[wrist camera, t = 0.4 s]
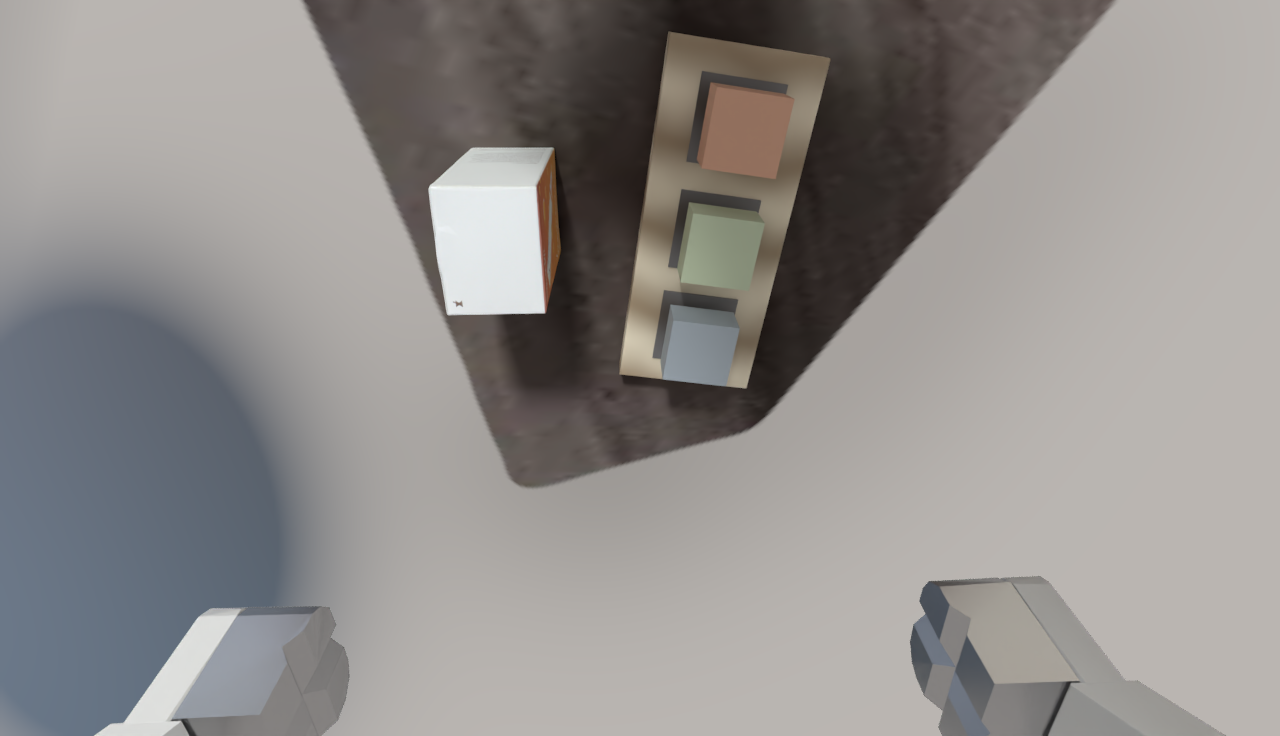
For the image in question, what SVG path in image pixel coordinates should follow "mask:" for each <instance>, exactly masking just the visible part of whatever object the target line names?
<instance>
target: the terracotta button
mask: <svg viewBox="0 0 1280 736" xmlns="http://www.w3.org/2000/svg"><path fill="white" fill-rule="evenodd" d="M794 100H795V99H794V98H792V97H790V96H788V95H785V94H782V93H776V92H770V91H763V90H757V89H750V88H744V87H738V86H731V85H725V84H719V83H712V82H711V83H710V89H709V94H708V100H707V106H706V111H705V117H704V122H703V128H702V133H701V139H700V144H699V150H698V155H697V161H698V163H699V165H700V166H701V168H702V169H708V170H715V171H722V172H729V173H736V174H743V175H750V176H757V177H764V178H771V179H776V175H777V171H778V167H779V162H780V158H781V154H782V150H783V146H784V142H785V137H786V133H787V129H788V125H789V121H790V116H791V112H792V108H793V104H794Z"/></svg>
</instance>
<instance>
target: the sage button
mask: <svg viewBox="0 0 1280 736" xmlns="http://www.w3.org/2000/svg"><path fill="white" fill-rule="evenodd" d="M764 225H765V223H764V221H763V220H762V218H761V217H760V215H759V214H758V213H757V212H756V211H749V210H742V209H734V208H727V207H720V206H713V205H706V204H698V203H691V202H689V205H688V211H687V216H686V222H685V227H684V233H683V238H682V244H681V249H680V255H679V261H678V266H677V269H678V274H679V278H680V282H682V283H690V284H698V285H705V286H713V287H721V288H729V289H737V290H745V291H749V288H750V284H751V280H752V276H753V271H754V267H755V263H756V259H757V255H758V250H759V246H760V242H761V238H762V234H763V229H764Z"/></svg>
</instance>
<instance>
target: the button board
mask: <svg viewBox="0 0 1280 736" xmlns="http://www.w3.org/2000/svg"><path fill="white" fill-rule="evenodd" d="M830 60H831V58H826V57H821V56H815V55H809V54H803V53H797V52H791V51H785V50H779V49H772V48H766V47H760V46H754V45H748V44H742V43H736V42H730V41H724V40H717V39H711V38H705V37H699V36H693V35H687V34H681V33H675V32H669V31H668V38H667V45H666V51H665V58H664V65H663V72H662V79H661V85H660V92H659V99H658V106H657V112H656V119H655V126H654V133H653V139H652V146H651V153H650V160H649V167H648V173H647V180H646V187H645V194H644V200H643V207H642V214H641V221H640V227H639V234H638V241H637V248H636V255H635V261H634V268H633V275H632V282H631V288H630V295H629V302H628V309H627V315H626V322H625V329H624V336H623V343H622V349H621V356H620V363H619V370H620V374H622V375H631V376H639V377H648V378H657V379H662V371H661V363H660V360H661V355H662V349H663V344H664V338H665V333H666V327H667V321H668V316H669V310H670V305H679V306H687V307H695V308H703V309H711V310H719V311H727V312H734V315H735V317H736V320H737V322H738V325H739V328H740V330H739V334H738V338H737V343H736V347H735V351H734V355H733V359H732V363H731V368H730V372H729V376H728V380H727V384H726V386H728V387H737V388H747V384H748V380H749V376H750V372H751V368H752V364H753V360H754V357H755V353H756V349H757V345H758V341H759V337H760V333H761V329H762V325H763V321H764V318H765V314H766V310H767V306H768V302H769V298H770V294H771V290H772V286H773V282H774V278H775V275H776V271H777V267H778V263H779V259H780V255H781V251H782V247H783V243H784V239H785V235H786V232H787V228H788V224H789V220H790V216H791V212H792V208H793V204H794V200H795V196H796V193H797V189H798V185H799V181H800V177H801V173H802V169H803V165H804V161H805V157H806V153H807V150H808V146H809V142H810V138H811V134H812V130H813V126H814V122H815V118H816V114H817V110H818V107H819V103H820V99H821V95H822V91H823V87H824V83H825V79H826V75H827V71H828V68H829V64H830ZM711 82H712V83H719V84H725V85H731V86H738V87H744V88H750V89H757V90H763V91H770V92H776V93H782V94H785V95H788V96H790V97H792V98H794V99H795V100H794V104H793V108H792V112H791V116H790V121H789V125H788V129H787V133H786V137H785V142H784V146H783V150H782V154H781V158H780V162H779V167H778V171H777V175H776V179H771V178H764V177H757V176H750V175H743V174H736V173H729V172H722V171H715V170H708V169H702V168H701V166H700V165H699V163H698V161H697V155H698V150H699V144H700V139H701V133H702V128H703V122H704V117H705V111H706V106H707V100H708V94H709V89H710V83H711ZM689 202H691V203H698V204H706V205H713V206H720V207H727V208H734V209H742V210H749V211H756V212H757V213H758V214H759V215H760V217H761V218H762V220H763V221H764V223H765V225H764V229H763V234H762V238H761V242H760V246H759V250H758V255H757V259H756V263H755V267H754V271H753V276H752V280H751V284H750V288H749V291H745V290H737V289H729V288H721V287H713V286H705V285H698V284H690V283H682V282H680V278H679V274H678V269H677V266H678V261H679V255H680V249H681V244H682V238H683V233H684V227H685V222H686V216H687V211H688V205H689Z"/></svg>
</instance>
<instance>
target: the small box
mask: <svg viewBox="0 0 1280 736" xmlns="http://www.w3.org/2000/svg"><path fill="white" fill-rule="evenodd" d="M429 199H430V207H431V214H432V221H433V229H434V236H435V245H436V255H437V261H438V267H439V271H440V275H441V281H442V287H443V293H444V298H445V305H446V311H447V314H448V315H481V314H534V313H546V311H547V306H548V301H549V297H550V293H551V289H552V285H553V281H554V277H555V272H556V268H557V264H558V261H559V257H560V252H561V244H560V234H559V222H558V207H557V191H556V171H555V150H554V148H471V149H470V150H469V151H468V152H467V153H465V154H464V155H463V156H462V157H461V158H460V159H459V160H458V161H457V162H456V163H455V164H454V165H453V166H451V167H450V168H449V169H448V170H447V171H446V172H445V173H444V174H443V175H442V176H440V177H439V178H438V179H437V180H436V181H435V182H434V183H433V184H431V185H430V186H429Z"/></svg>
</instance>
